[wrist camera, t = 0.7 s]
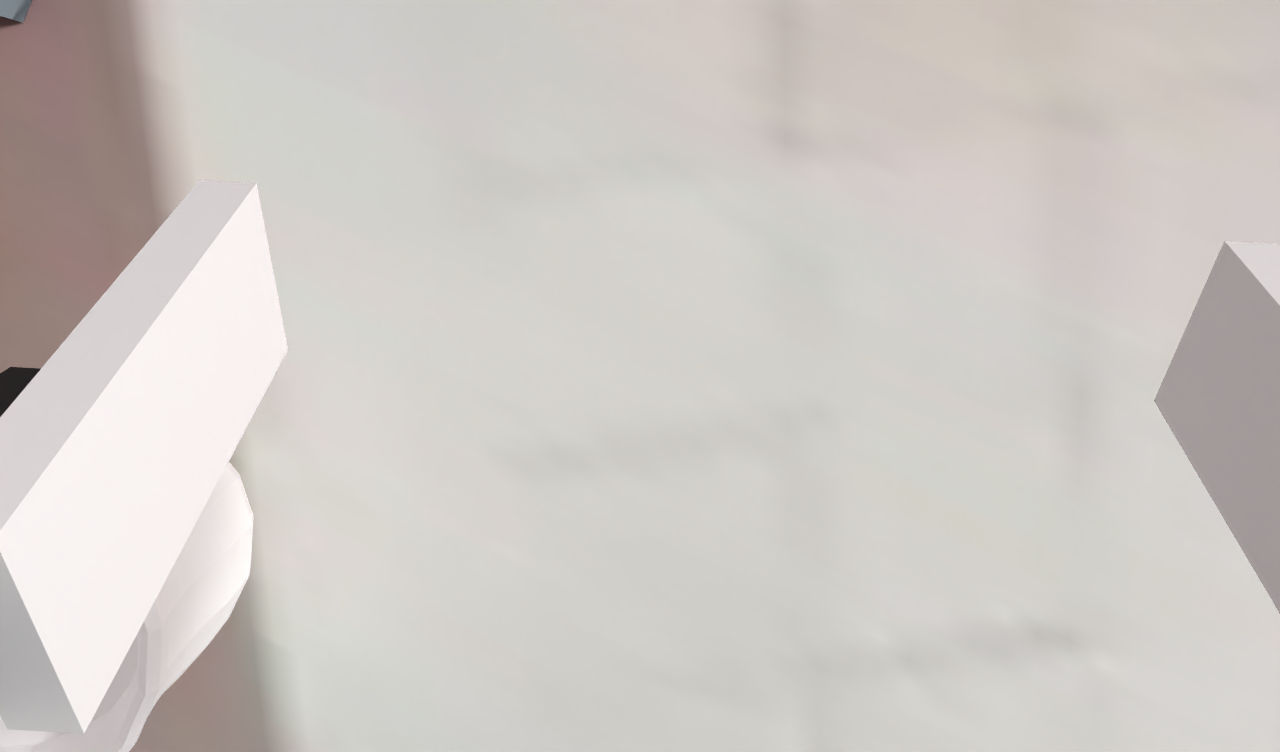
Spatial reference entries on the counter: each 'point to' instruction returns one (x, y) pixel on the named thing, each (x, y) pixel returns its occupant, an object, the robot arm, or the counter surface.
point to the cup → (167, 627)
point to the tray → (14, 9)
